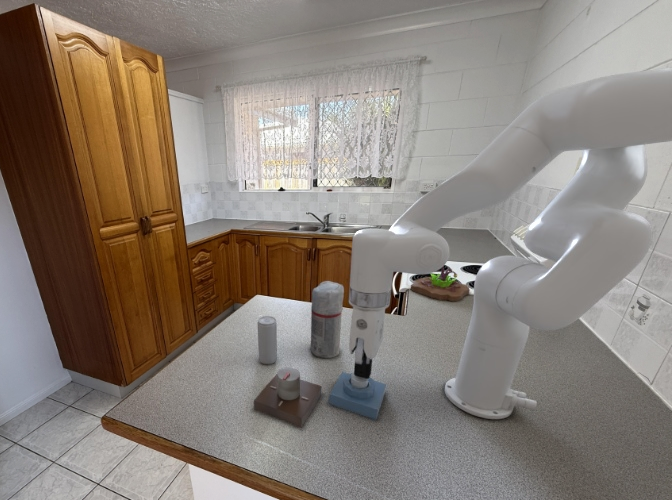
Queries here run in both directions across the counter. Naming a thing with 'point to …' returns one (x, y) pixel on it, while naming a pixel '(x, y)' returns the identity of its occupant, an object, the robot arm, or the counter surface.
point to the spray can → (326, 319)
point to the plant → (441, 287)
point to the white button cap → (359, 382)
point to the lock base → (288, 402)
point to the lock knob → (288, 383)
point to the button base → (358, 396)
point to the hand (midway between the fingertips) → (362, 375)
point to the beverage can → (267, 339)
